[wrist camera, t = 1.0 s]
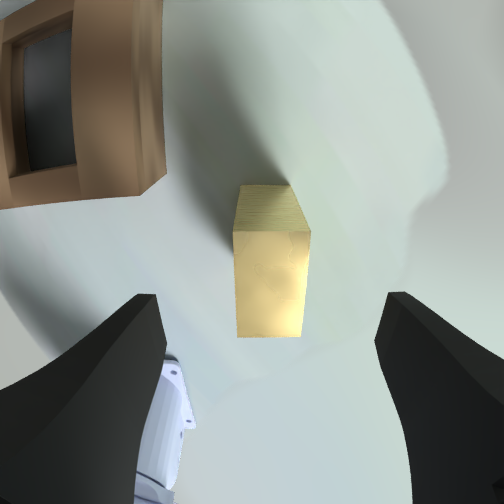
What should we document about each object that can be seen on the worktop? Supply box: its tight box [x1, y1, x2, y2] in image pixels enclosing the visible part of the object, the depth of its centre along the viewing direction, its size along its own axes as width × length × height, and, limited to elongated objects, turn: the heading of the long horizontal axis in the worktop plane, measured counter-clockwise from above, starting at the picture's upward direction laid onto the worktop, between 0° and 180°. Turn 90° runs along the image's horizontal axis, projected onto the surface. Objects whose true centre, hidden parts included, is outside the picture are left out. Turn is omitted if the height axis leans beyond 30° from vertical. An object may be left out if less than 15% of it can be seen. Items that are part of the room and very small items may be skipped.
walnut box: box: [0, 0, 167, 210], centre depth 11 cm, size 10×10×4 cm
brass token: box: [233, 185, 311, 337], centre depth 13 cm, size 4×2×6 cm, turn 1°
